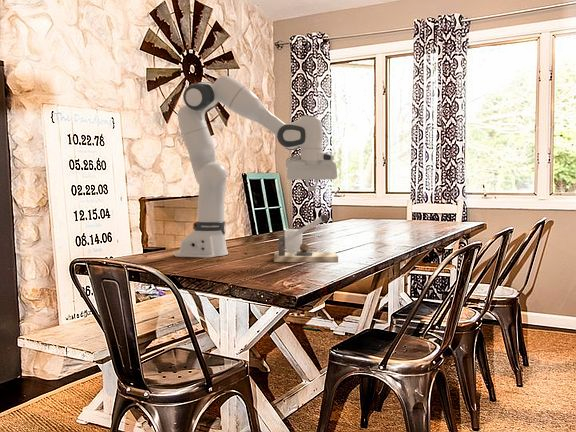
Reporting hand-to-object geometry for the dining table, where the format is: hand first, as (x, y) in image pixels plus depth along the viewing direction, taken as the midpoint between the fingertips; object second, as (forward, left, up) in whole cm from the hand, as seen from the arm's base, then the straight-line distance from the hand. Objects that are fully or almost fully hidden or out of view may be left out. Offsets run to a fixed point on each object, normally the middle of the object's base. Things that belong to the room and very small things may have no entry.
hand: (311, 191), depth 222 cm
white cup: (-7, +16, -28) cm, 33 cm away
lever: (-3, -3, -17) cm, 17 cm away
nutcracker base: (-3, -3, -27) cm, 28 cm away
